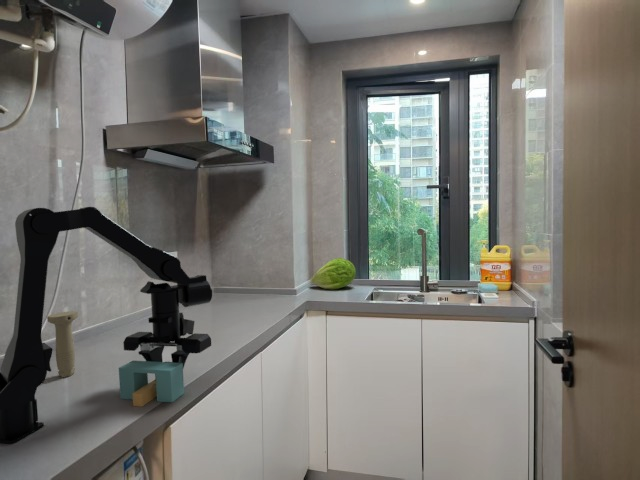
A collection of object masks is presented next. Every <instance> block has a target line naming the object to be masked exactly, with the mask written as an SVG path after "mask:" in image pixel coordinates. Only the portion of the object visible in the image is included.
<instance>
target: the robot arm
mask: <svg viewBox="0 0 640 480" xmlns="http://www.w3.org/2000/svg"><path fill="white" fill-rule="evenodd" d="M14 226H15V235H16V236H15V237H16V243H17V247H18V251H19V255H20V263H19V273H18V282H17V283H18V284H17V291H16V292H17V294H16V304H15V315H14V324H13V325H14V326H13V334H12V337H11V338H10V339H11V340H10V341H9V344H8V346H7V348H6V351H5V353H4V357H3V358H2V359H3V360H2V363H1V366H0V443H3V444H4V443H5V444H13V443H16V442H18V441H19V440H21V439H23V438H24V437H26V436H28V435H30V434H32V433H33V432H35V431H37V430H40V428H42V427H44V426H45V423H44V422H40V421H39V415H38V414H39V412H38V411H39V410H38V402H37V398H36V392H37V388H39V387H40V385H42V384H43V383H44V382H45V380H46V378H47V374H48V372H49V373H50V372H52V367H51V363H50V362H51V358H52V355H53V350H54V349H53V347H51V346H50V345H48V344H47V343H46V342H43V340H42V330H43V329H42V328H43V319H44V318H43V317H44V310H45V309H44V308H45V298H46V288H47V278H48V277H47V275H48V266H49V259H50V256H51V254H52V252H53V249H54V248H55V246H56V243H57V240H58V236H59V234H60V232H66V231H71V230H72V231H73V230H78V229H82V228H83V229H86V230H87V231H89V232H91V233H92V234H93V235H95V236H96V237H98V238H100V239H101V240H103V241H104V242H106V243H107V244H109V245H110V246H112V247H113V248H115V249H116V250H118V251H120V252H122V254H124V255H126V256H127V257H129V258H130V259H132V261H133V262H135V264H136V265H137V266H138V267H139V269H140V270H141V271H143V273H145V274H146V275H147V276H148V277H149V278H151V279H152V280H157V281H163V282H162V283H154V282H153V281H150V280H149V281H147V282H146V284H145V285H143V287H142V288H140V292H141V293H144V294H146V295H150V301H151V302H150V303H151V305H150V306H151V316H150V317H148V318H147V319H148V323H149V324H150V323H151V324H152V331H137V332H134V333H131V334H130V335H128V336H126V337H125V338H124V340H123V343H122V345H123V351H129V352H130V351H131V352H132V351H134V352H135V351H136V350H138V349H140V351H138V352H137V353H138V355H141V356H142V358H143V359H144V361H151V362H164V361H163V352H164V350H165V349H164V348H165V347H175V348H176V350H175V351H174V352H172V353H171V354H170V355H171V362H172V363H183V369H184V367H185V364H186V361H187V359H188V357H189V355H190V354H201V353H202V352H204V351H205V350H207V349H209V348H210V347H211V346H212V338H211V336H210V335H209V334H208V333H195V332H194V328H195V320H192V319H185V318H184V314H183V313H184V312H180V304H181V305H182V307H184V308H187V307H193V306H197V305H198V306H199V305H204V304H209V303H210V302H211V300H212V299H213V289H212V288H211V285H210V282H209V281H208V279H207V275H205V274H198V275H195V276H190V277H189V275H187V273H186V271H184V270H183V268H182V266H181V261H180V258H178V257H177V256H175V255H173V254H171V253H169V252H166V251H164V250H163V249H160V248H157V247H154V246H152V245H149V244H148V243H145V242H144V241H143V240H141V239H140V238H139V237H137V236H135V235H134V234H133V233H131V231H128V230H127V229H125V228H124V227H122V225H119V224H118V223H117V222H115V221H113V220H112V219H111V218H109V217H108V216H107V215H105V214H103V212H101V211H100V210H99V209H98V207H94V206H84V207H80V208H78V209H71V210H62V211H53V210H51V209H49V208H45V207H36V208H28V209H26V210H24V211H22V212H20V213H19V214H18V215H17V217H16V219H15V221H14ZM168 282H169V283H174V284H175V285H170V284H169V283H168ZM187 334H188V336H187ZM184 336H186V337H184ZM139 347H140V348H139Z"/></svg>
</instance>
